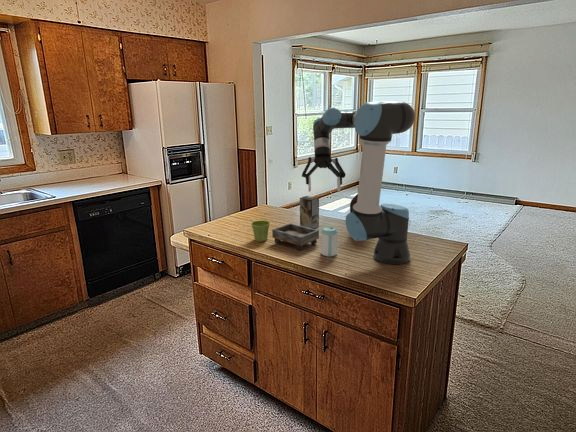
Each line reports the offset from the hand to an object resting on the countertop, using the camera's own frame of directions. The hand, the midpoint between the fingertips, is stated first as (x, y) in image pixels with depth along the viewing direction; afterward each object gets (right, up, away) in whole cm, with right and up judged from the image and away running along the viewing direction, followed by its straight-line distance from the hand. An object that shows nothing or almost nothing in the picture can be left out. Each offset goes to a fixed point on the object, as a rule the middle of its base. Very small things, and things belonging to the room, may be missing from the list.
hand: (324, 190), depth 171 cm
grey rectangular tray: (-13, -25, +9) cm, 29 cm away
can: (+2, -29, -4) cm, 29 cm away
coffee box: (-5, -17, +35) cm, 39 cm away
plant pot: (-30, -23, +15) cm, 41 cm away
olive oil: (+20, -21, +21) cm, 36 cm away
